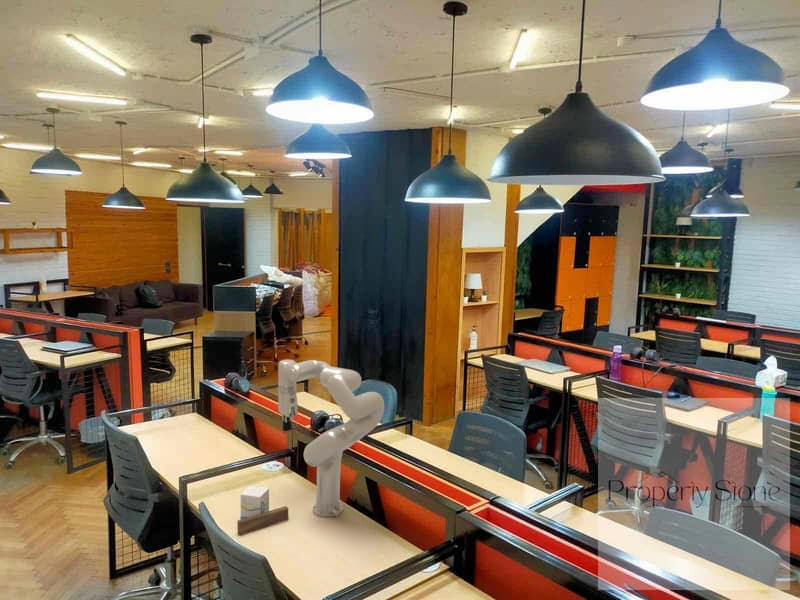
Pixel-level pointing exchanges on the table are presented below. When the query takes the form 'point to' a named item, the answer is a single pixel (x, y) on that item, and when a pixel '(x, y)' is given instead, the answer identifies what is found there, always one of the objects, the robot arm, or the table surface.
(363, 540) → the table surface
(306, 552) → the table surface
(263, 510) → the ink box
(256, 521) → the board
